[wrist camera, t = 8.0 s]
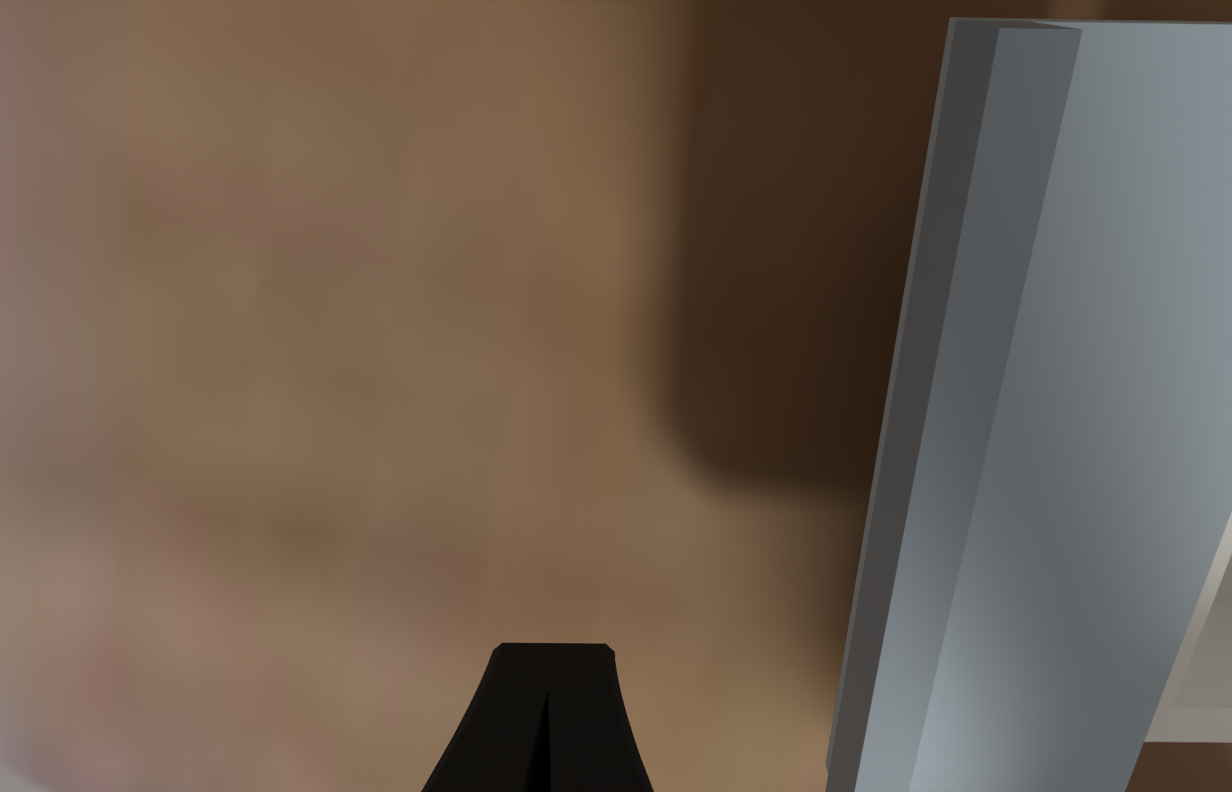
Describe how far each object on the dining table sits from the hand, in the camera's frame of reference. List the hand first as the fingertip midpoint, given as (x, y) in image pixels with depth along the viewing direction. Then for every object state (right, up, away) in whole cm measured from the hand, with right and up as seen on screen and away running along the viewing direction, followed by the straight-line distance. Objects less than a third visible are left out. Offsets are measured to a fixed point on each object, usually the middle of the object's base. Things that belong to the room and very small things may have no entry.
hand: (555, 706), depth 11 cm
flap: (+8, +2, +5) cm, 10 cm away
